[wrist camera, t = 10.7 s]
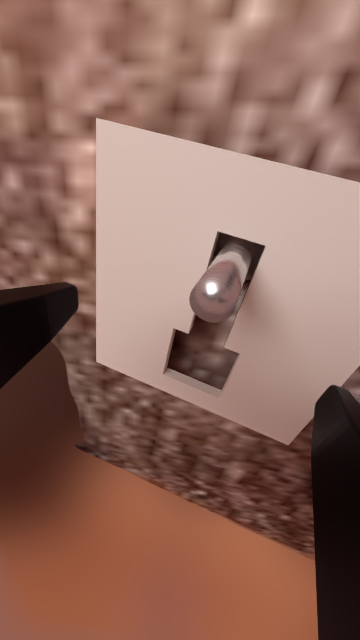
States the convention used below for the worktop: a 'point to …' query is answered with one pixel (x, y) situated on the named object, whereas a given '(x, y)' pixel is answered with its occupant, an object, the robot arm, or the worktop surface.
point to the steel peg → (225, 278)
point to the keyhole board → (195, 257)
